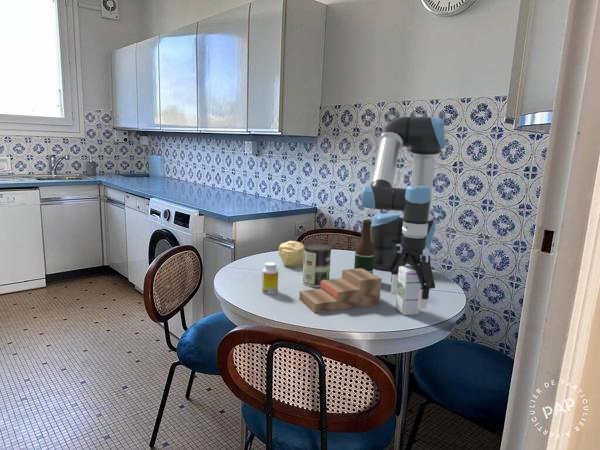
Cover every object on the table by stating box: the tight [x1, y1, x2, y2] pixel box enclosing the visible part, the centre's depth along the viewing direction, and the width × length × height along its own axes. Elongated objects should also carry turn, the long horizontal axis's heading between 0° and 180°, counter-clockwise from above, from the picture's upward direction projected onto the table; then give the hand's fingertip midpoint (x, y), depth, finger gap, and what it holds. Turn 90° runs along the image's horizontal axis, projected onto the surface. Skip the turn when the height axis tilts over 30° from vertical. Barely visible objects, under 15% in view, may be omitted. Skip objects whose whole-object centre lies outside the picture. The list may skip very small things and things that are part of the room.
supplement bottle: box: [261, 261, 279, 295], centre depth 145 cm, size 6×6×10 cm
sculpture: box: [278, 240, 305, 268], centre depth 179 cm, size 12×12×11 cm
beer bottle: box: [353, 219, 374, 274], centre depth 161 cm, size 8×8×24 cm
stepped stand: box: [298, 268, 382, 314], centre depth 139 cm, size 24×12×9 cm, turn 114°
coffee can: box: [302, 243, 332, 288], centre depth 156 cm, size 10×10×14 cm
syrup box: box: [395, 265, 421, 316], centre depth 132 cm, size 6×6×14 cm
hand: (407, 300), depth 133 cm, fingers open, 13 cm apart
